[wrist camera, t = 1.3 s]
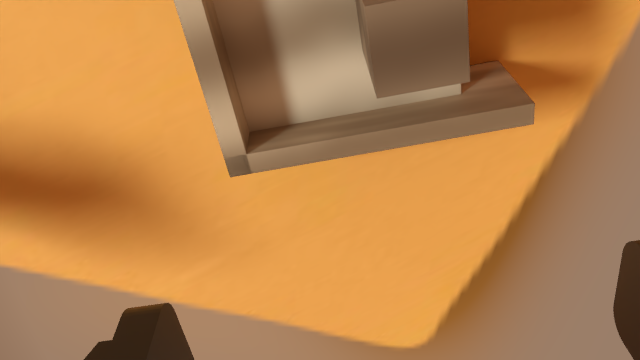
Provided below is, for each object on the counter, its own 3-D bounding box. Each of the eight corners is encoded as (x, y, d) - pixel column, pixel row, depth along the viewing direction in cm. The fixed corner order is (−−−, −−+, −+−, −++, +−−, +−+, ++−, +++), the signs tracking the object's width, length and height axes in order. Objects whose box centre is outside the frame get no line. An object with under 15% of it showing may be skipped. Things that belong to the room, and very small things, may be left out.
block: (351, -29, 27) (364, 6, 22) (434, -45, 27) (466, -14, 22) (362, 50, 29) (376, 98, 24) (439, 35, 29) (470, 81, 24)
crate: (170, -110, 28) (143, -95, 23) (497, -179, 27) (544, -178, 22) (239, 125, 35) (230, 177, 30) (498, 78, 34) (533, 123, 29)
